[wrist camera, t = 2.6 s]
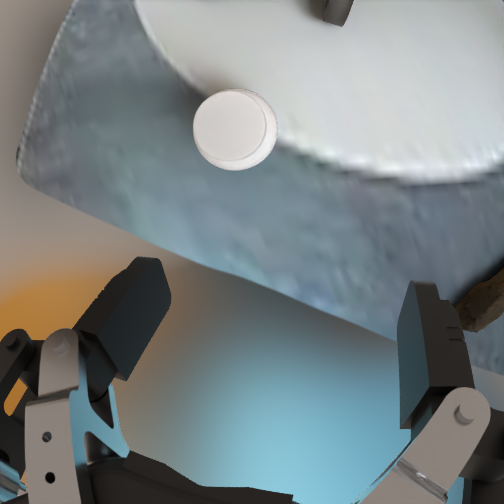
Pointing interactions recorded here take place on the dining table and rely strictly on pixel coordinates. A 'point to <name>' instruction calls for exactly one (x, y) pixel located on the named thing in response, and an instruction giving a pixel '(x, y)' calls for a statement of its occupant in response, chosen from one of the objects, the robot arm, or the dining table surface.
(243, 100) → the supplement bottle
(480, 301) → the hand tool
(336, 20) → the trolley
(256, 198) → the dining table surface
